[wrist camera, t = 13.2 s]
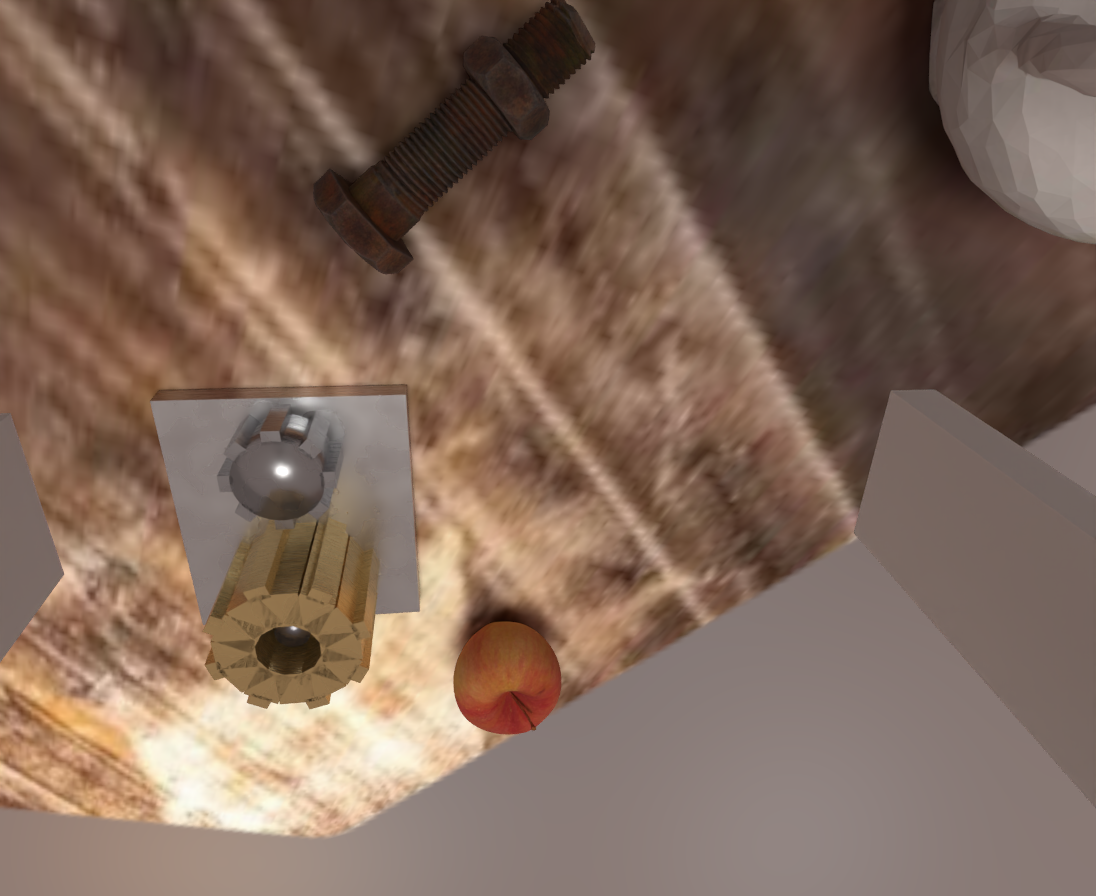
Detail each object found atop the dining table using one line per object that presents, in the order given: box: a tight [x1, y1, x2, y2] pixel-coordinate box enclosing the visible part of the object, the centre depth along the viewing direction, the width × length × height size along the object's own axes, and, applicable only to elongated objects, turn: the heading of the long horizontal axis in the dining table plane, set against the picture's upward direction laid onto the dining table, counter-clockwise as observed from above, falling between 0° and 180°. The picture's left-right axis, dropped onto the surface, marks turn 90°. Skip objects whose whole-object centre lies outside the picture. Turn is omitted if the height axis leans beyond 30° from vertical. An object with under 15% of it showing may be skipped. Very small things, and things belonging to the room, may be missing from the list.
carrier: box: [150, 385, 420, 647], centre depth 44 cm, size 16×14×7 cm
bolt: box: [313, 0, 595, 274], centre depth 36 cm, size 6×5×15 cm
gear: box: [203, 518, 380, 709], centre depth 45 cm, size 9×9×7 cm
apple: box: [454, 622, 561, 734], centre depth 51 cm, size 7×7×8 cm
